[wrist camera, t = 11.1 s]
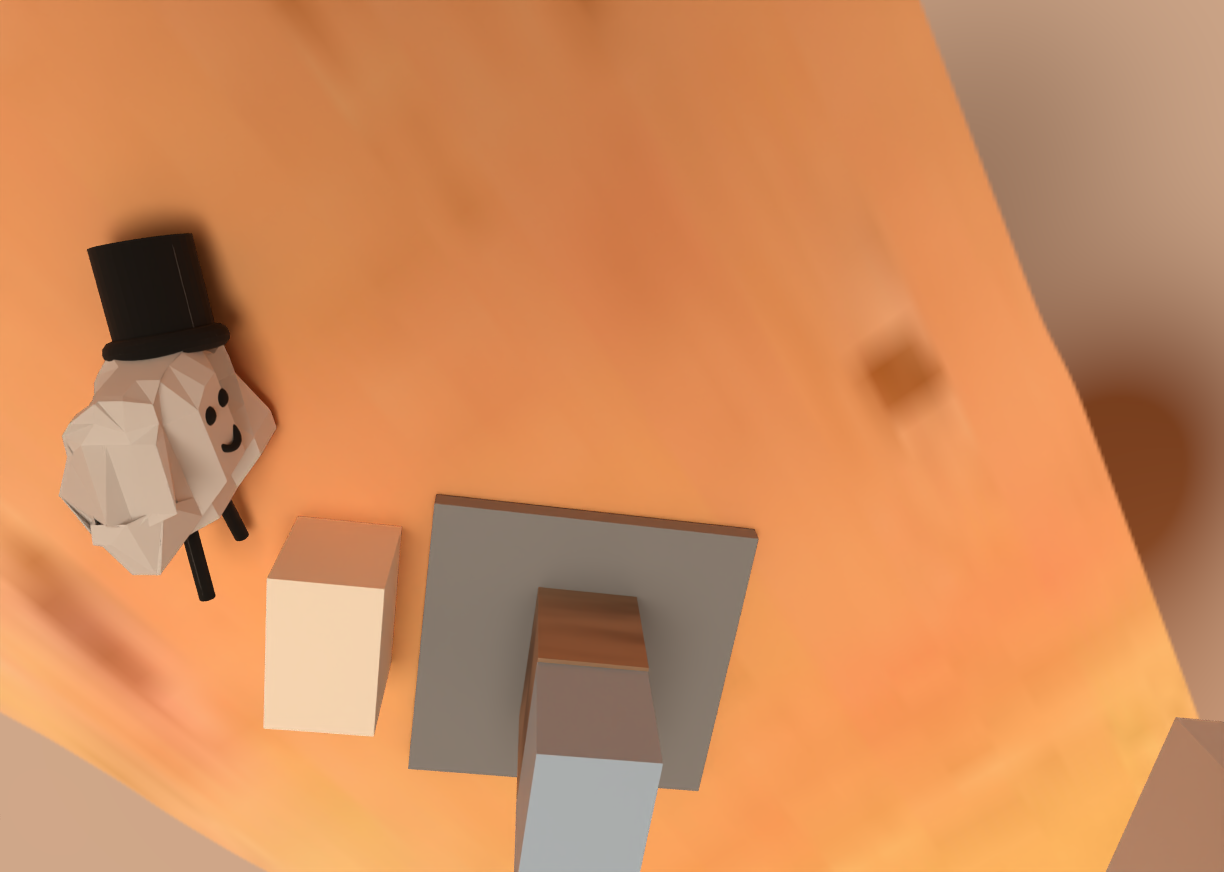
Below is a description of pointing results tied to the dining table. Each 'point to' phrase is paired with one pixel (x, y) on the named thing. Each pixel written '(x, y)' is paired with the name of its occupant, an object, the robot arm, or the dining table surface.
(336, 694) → the brick
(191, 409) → the toy
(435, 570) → the build board
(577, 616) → the brick base
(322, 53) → the dining table surface
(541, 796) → the brick top
